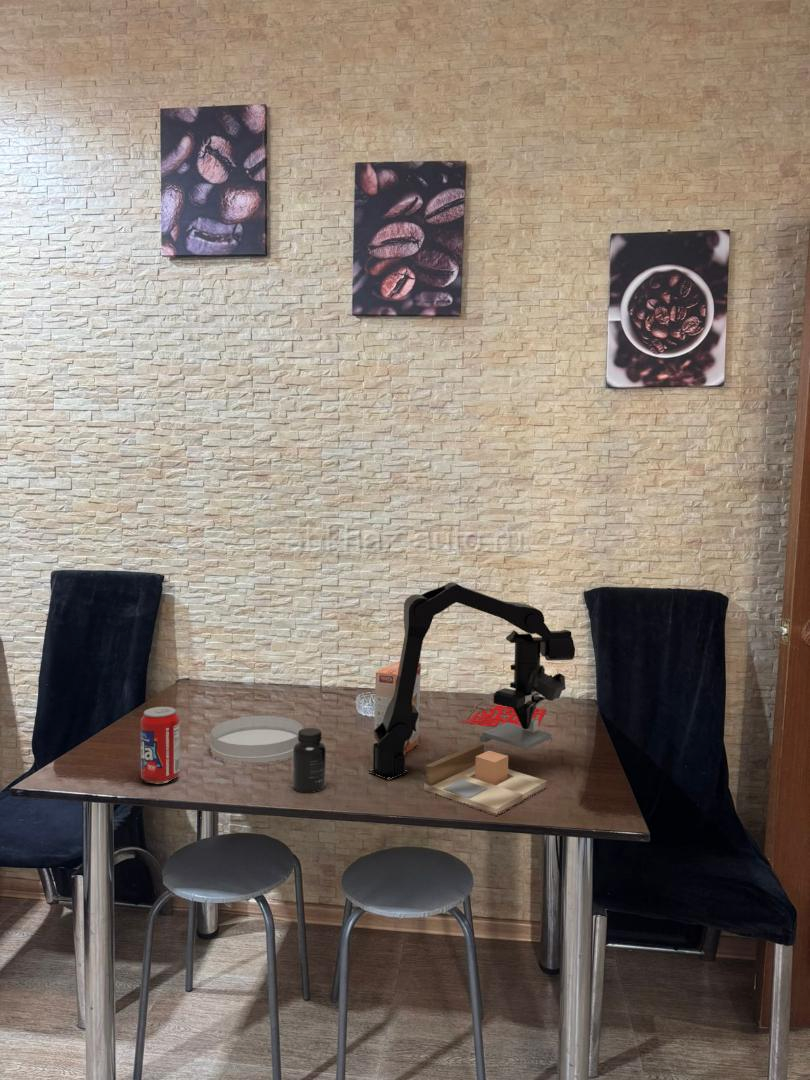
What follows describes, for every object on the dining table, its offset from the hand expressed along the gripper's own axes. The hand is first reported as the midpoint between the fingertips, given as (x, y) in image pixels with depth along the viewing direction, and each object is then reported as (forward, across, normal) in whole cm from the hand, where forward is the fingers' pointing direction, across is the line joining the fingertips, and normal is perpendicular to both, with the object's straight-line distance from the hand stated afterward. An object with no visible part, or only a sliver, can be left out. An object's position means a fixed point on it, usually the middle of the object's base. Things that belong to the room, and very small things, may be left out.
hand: (525, 728), depth 172 cm
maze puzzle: (+10, +29, +24) cm, 39 cm away
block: (+9, -13, 0) cm, 16 cm away
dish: (+9, -34, +53) cm, 64 cm away
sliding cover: (+3, -2, +1) cm, 4 cm away
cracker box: (+9, -13, +27) cm, 32 cm away
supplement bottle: (+9, -41, +27) cm, 50 cm away
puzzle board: (+9, -17, -1) cm, 19 cm away
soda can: (+9, -60, +53) cm, 81 cm away
